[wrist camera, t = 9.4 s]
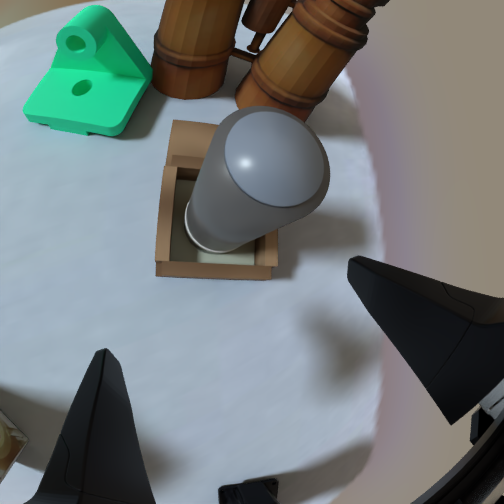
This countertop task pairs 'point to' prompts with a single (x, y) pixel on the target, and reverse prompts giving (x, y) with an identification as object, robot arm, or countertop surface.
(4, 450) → the coffee box
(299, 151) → the grey round-topped cylinder
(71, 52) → the camera mount
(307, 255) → the countertop surface
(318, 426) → the countertop surface
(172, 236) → the brown square-cornered frame
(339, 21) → the binoculars
